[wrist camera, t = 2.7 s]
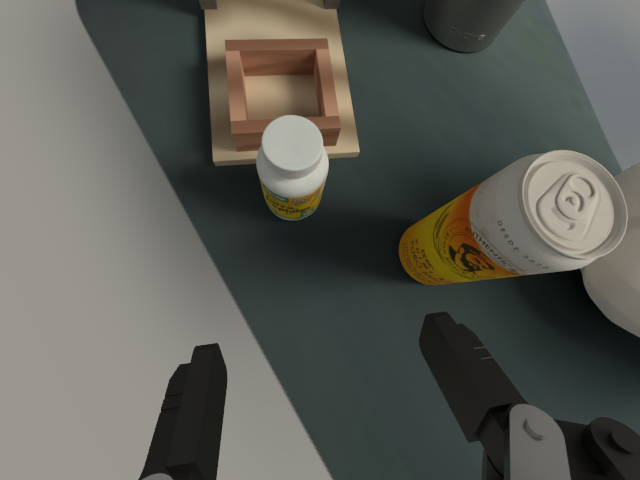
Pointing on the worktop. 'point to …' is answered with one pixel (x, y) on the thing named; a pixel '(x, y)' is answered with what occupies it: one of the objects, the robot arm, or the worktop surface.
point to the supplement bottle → (292, 166)
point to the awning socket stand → (275, 74)
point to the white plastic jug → (620, 264)
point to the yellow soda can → (520, 223)
